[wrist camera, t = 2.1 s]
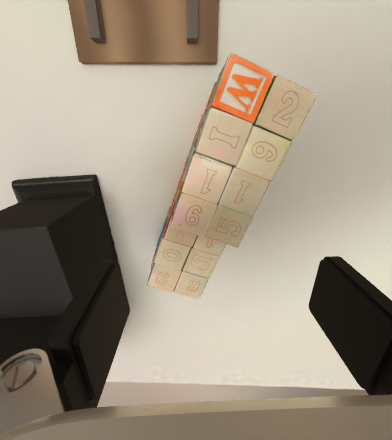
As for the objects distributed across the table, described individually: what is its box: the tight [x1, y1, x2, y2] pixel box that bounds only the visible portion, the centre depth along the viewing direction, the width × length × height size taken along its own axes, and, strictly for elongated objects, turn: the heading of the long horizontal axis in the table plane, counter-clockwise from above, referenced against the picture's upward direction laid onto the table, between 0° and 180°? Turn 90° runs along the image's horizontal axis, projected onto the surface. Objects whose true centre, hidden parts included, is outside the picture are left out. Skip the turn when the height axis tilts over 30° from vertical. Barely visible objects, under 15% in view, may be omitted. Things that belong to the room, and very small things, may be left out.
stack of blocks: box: [147, 53, 316, 299], centre depth 23 cm, size 21×6×12 cm, turn 159°
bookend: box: [0, 175, 130, 408], centre depth 22 cm, size 23×11×24 cm, turn 4°
